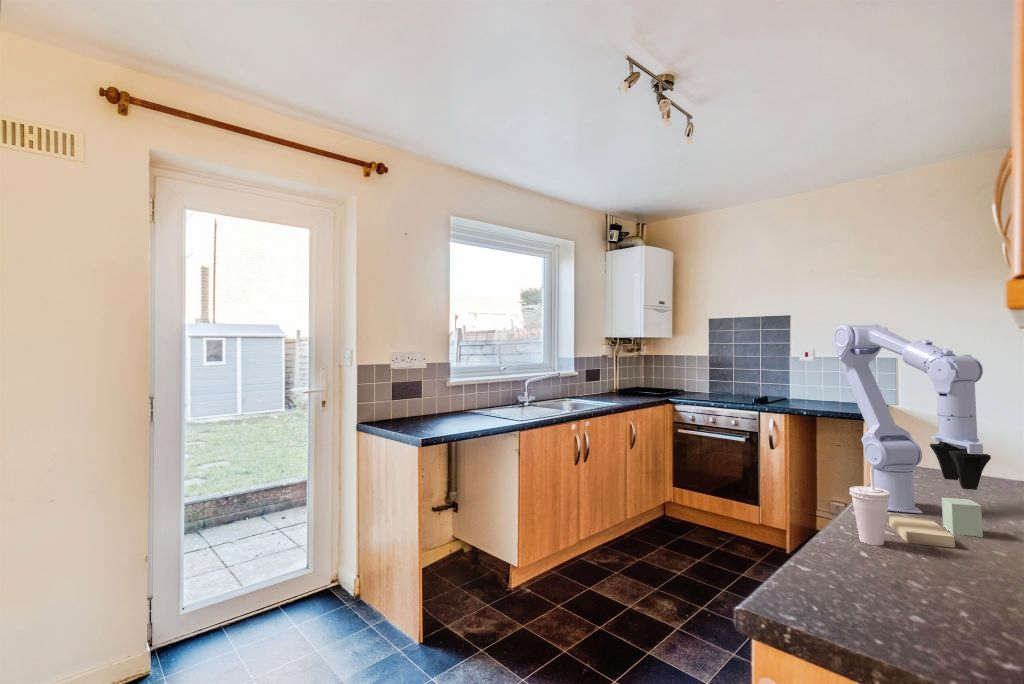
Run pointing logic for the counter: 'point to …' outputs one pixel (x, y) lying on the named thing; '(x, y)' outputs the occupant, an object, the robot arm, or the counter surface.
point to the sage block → (962, 517)
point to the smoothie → (870, 511)
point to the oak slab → (921, 531)
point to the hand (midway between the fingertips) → (959, 484)
